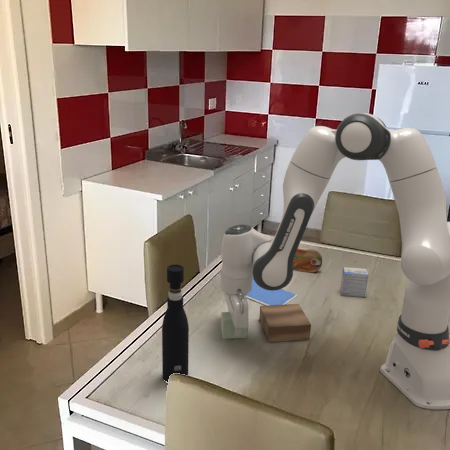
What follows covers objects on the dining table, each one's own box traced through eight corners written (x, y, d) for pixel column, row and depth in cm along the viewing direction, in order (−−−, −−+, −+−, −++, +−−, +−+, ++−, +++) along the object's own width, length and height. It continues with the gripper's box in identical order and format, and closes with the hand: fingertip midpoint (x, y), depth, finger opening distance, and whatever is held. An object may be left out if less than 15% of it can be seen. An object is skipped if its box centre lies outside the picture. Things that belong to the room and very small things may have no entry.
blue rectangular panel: (298, 297, 171) (298, 294, 171) (277, 312, 162) (277, 308, 161) (250, 280, 182) (250, 276, 182) (228, 292, 173) (228, 289, 172)
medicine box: (363, 291, 176) (366, 268, 172) (365, 297, 171) (368, 274, 168) (339, 289, 176) (342, 266, 173) (341, 295, 172) (344, 272, 169)
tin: (279, 268, 191) (281, 247, 188) (281, 264, 194) (283, 244, 191) (320, 274, 187) (323, 253, 184) (321, 271, 190) (324, 249, 187)
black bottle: (175, 366, 133) (175, 259, 123) (193, 376, 129) (195, 267, 119) (157, 377, 128) (155, 268, 118) (175, 388, 125) (175, 276, 114)
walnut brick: (309, 339, 147) (311, 324, 145) (268, 342, 145) (269, 327, 144) (297, 318, 158) (298, 303, 156) (259, 320, 156) (260, 305, 155)
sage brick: (247, 337, 147) (248, 319, 145) (223, 339, 146) (223, 320, 144) (244, 329, 151) (245, 310, 149) (220, 330, 150) (221, 312, 148)
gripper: (255, 299, 133) (252, 345, 138) (240, 266, 152) (238, 307, 157) (231, 300, 132) (229, 346, 137) (219, 266, 151) (218, 308, 156)
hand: (234, 325), depth 147 cm, fingers open, 8 cm apart
